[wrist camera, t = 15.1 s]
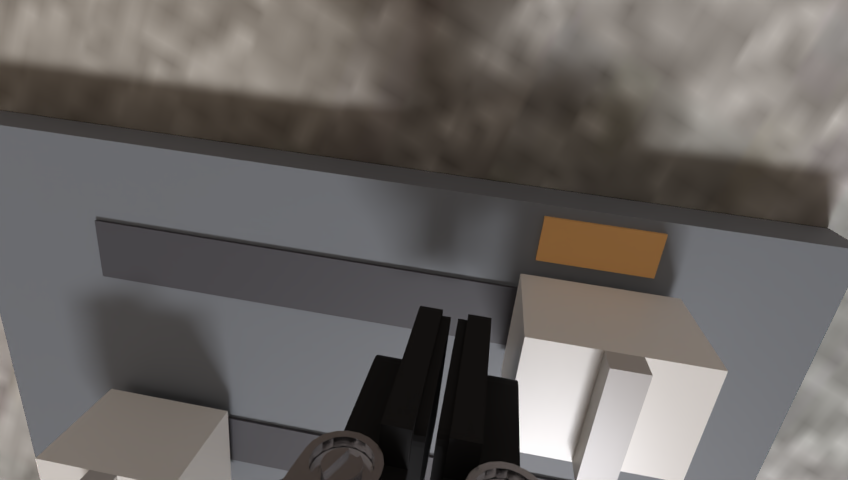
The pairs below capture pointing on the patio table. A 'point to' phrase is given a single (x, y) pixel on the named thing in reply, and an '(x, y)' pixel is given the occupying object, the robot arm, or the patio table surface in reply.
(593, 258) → the switch panel
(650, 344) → the tab near
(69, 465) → the tab far
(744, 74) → the patio table surface
